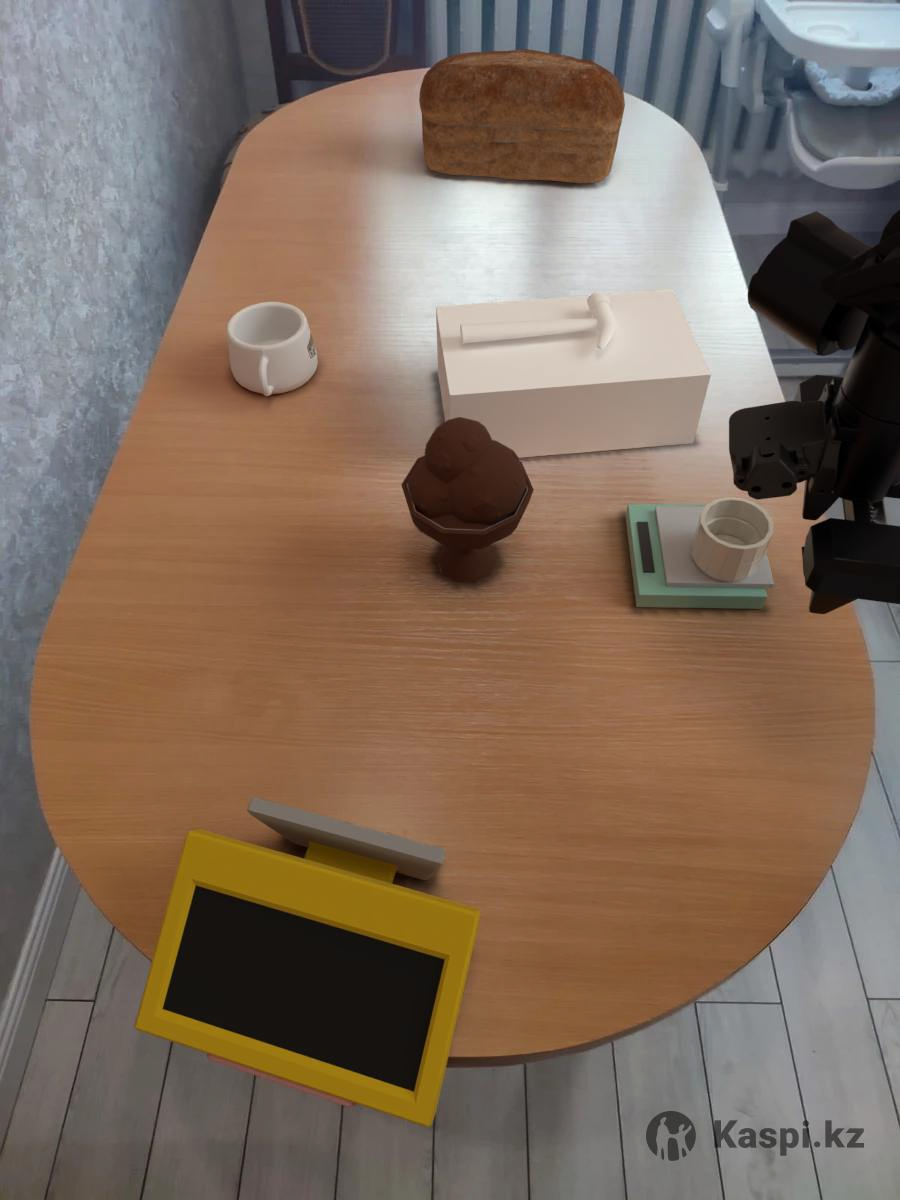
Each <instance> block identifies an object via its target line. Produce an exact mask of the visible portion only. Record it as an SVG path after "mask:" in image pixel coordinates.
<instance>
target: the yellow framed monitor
mask: <svg viewBox="0 0 900 1200" xmlns="http://www.w3.org/2000/svg"><path fill="white" fill-rule="evenodd" d="M246 811H247V812H248V813H249V815H250V816H252V817H253V818H255V819H256V820H258V821H259V822H261V823H262V824H264V825H265V826H267V827H268V828H270V829H271V830H273V831H275V832H276V833H277V834H279V835H280V836H282V837H283V838H285V839H286V840H287V841H289V842H291V843H292V844H295V845H298V846H301V847H304V848H307V850H306V851H305V852H306V853H305V854H304V858H303V857H299V856H296V855H292V854H289V853H285V852H282V851H278V850H275V849H271V848H268V847H264V846H260V845H258V844H254V843H250V842H247V841H243V840H240V839H237V838H232V837H229V836H226V835H222V834H218V833H215V832H211V831H208V830H205V829H202V828H196V829H192V830H189V831H188V832H186V834H185V839H184V841H183V842H184V843H183V846H182V849H181V852H180V857H179V860H178V865H177V868H176V871H175V874H174V875H175V876H174V879H173V882H172V887H171V890H170V894H169V896H168V897H169V898H168V901H167V905H166V909H165V912H164V915H163V919H162V923H161V927H160V930H159V934H158V938H157V940H156V941H157V942H156V944H155V948H154V952H153V956H152V960H151V964H150V966H149V971H148V974H147V977H146V982H145V985H144V988H143V993H142V996H141V1000H140V1003H139V1007H138V1011H137V1014H136V1018H135V1022H134V1028H135V1030H136V1031H139V1032H142V1033H145V1034H148V1035H151V1036H154V1037H156V1038H160V1039H163V1040H166V1041H168V1042H172V1043H174V1044H178V1045H181V1046H184V1047H187V1048H190V1049H192V1050H196V1051H199V1052H202V1053H204V1054H206V1057H207V1059H208V1060H209V1061H211V1062H214V1063H217V1064H220V1065H223V1066H226V1067H229V1068H232V1069H234V1070H238V1071H241V1072H244V1073H247V1074H250V1075H253V1076H256V1077H259V1078H262V1079H264V1080H268V1081H271V1082H274V1083H277V1084H280V1085H283V1086H286V1087H289V1088H292V1089H295V1090H297V1091H301V1092H303V1093H306V1094H309V1095H312V1096H315V1097H318V1098H321V1099H325V1100H327V1101H330V1102H333V1103H336V1104H339V1105H342V1106H345V1107H349V1108H350V1107H355V1106H356V1105H360V1106H363V1107H365V1108H367V1109H368V1108H369V1109H371V1110H374V1111H377V1112H381V1113H383V1114H387V1115H389V1116H392V1117H396V1118H398V1119H401V1120H403V1121H404V1120H405V1121H407V1122H410V1123H413V1124H416V1125H420V1126H422V1127H425V1128H429V1127H431V1126H432V1125H433V1122H434V1119H435V1116H436V1114H437V1107H438V1104H439V1100H440V1096H441V1091H442V1088H443V1087H442V1086H443V1083H444V1079H445V1074H446V1070H447V1066H448V1060H449V1057H450V1052H451V1049H452V1044H453V1038H454V1034H455V1030H456V1025H457V1021H458V1017H459V1012H460V1008H461V1005H462V1004H461V1003H462V999H463V996H464V992H465V986H466V981H467V978H468V973H469V969H470V965H471V961H472V956H473V952H474V947H475V943H476V938H477V934H478V930H479V925H480V922H481V916H482V911H481V909H480V908H478V907H475V906H472V905H469V904H466V903H461V902H458V901H454V900H451V899H447V898H444V897H440V896H436V895H433V894H429V893H426V892H424V891H423V892H422V891H419V890H415V889H412V888H408V887H405V886H401V885H398V884H394V879H395V876H396V873H397V874H401V875H404V876H408V877H410V878H411V877H412V878H414V879H418V880H422V881H428V880H430V879H432V877H433V876H434V875H435V874H436V872H438V870H439V869H440V868H441V867H442V866H443V864H444V861H445V857H446V854H447V853H446V850H445V848H442V847H439V846H435V845H431V844H428V843H424V842H420V841H417V840H414V839H409V838H406V837H402V836H398V835H395V834H391V833H389V832H388V833H387V832H384V831H380V830H377V829H373V828H369V827H365V826H362V825H359V824H354V823H351V822H347V821H343V820H341V819H340V820H339V819H336V818H332V817H329V816H326V815H321V814H318V813H314V812H311V811H307V810H303V809H299V808H296V807H292V806H289V805H285V804H281V803H279V802H278V803H277V802H274V801H270V800H266V799H263V798H260V797H255V796H254V797H252V798H251V799H250V801H249V803H248V805H247V808H246Z"/></svg>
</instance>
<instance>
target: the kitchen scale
mask: <svg viewBox="0 0 900 1200" xmlns="http://www.w3.org/2000/svg"><path fill="white" fill-rule="evenodd" d="M706 505H707V504H687V503H686V504H684V503H683V504H682V503H676V504H675V503H671V504H669V503H668V504H667V503H665V504H664V503H628V504H627V505H626V511H625V515H624V516H625V517H624V518H625V526H626V533H627V542H628V551H629V558H630V567H631V574H632V583H633V591H634V592H633V593H634V599H635V607H636V608H673V609H674V608H675V609H677V608H679V609H739V610H740V609H743V610H744V609H746V610H747V609H749V610H750V609H752V610H762V609H763V607H764V605H765V603H766V600H767V598H768V594H767V589H773V588H774V586H775V582H774V577H773V574H772V570H771V565H770V561H769V558H768V554H767V553H768V552H767V551H766V552H765V555H764V557H763V560H762V562H761V565H760V566H759V568H758V570H757V571H756V572H755V573H754V574H752V575H750V576H749V577H747V578H745V579H742V580H738V581H722V580H718V579H715V578H712V577H710V576H708V575H707V574H705V573H704V572H703V571H701V570H700V569H699V567H698V566H697V564H696V563H695V561H694V559H693V557H692V554H691V548H692V542H693V538H694V535H695V531H696V528H697V524H698V521H699V517H700V514H701V512H702V510H703V509H704V507H705V506H706Z"/></svg>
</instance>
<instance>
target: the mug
mask: <svg viewBox="0 0 900 1200" xmlns="http://www.w3.org/2000/svg"><path fill="white" fill-rule="evenodd" d="M226 340H227V347H228V356H229V365H230V370H231V373H232V376H233V379H234V380H235V381H236V382H237V383H238V384H239V385H240V386H241V387H243V388H245V389H246V390H249V391H250V392H254V393H257V394H261V395H264V397H269V396H271V395H276V394H284V393H287V392H291V391H294V390H296V389H298V388H301V387H302V386H303V385H304V384H307V382H309V381H310V380H311V378H312V377H313V375H314V374H315V373H316V372H317V368H318V365H319V361H318V352H317V348H316V345H315V342H314V339H313V335H312V332H311V329H310V325H309V322H308V319H307V317H306V315H305V313H304V311H302V310H301V309H300V308H299V307H298V306H294V305H292V304H290V303H286V302H282V301H266V302H265V301H264V302H259V303H255V304H251V305H248V306H246V307H244V308H241V309H240V310H238V311H237V312H235V313H234V314H233V316H231V317H230V319H229V320H228V322H227V325H226Z"/></svg>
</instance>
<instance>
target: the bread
mask: <svg viewBox="0 0 900 1200" xmlns="http://www.w3.org/2000/svg"><path fill="white" fill-rule="evenodd" d="M418 97H419V98H418V103H419V109H420V112H421V131H422V132H421V133H422V149H423V159H424V163H425V165H426V167H428V169H430V170H431V171H433V172H436V173H440V174H445V175H452V176H475V177H476V176H477V177H489V178H490V177H492V178H499V179H500V178H501V179H507V180H516V181H517V180H529V181H530V180H536V181H553V182H564V183H571V184H591V183H592V184H593V183H599V182H603V181H604V180H605V179H606V178H607V177H608V176H609V175H610V173H611V171H612V167H613V163H614V159H615V154H616V151H617V149H618V148H617V147H618V141H619V136H620V130H621V127H622V122H623V118H624V113H625V107H626V102H625V92H624V91H623V87H622V85H621V83H620V81H619V79H618V77H617V76H615V74H614V73H612V72H611V71H609V70H608V69H607V68H605V67H603V66H602V65H600V64H598V63H596V62H595V61H592V60H591V59H585V58H584V59H582V58H576V57H573V56H570V55H566V54H560V53H553V52H545V51H540V50H536V49H528V48H525V49H512V50H489V51H473V52H462V53H457V54H452V55H450V56H447V57H445V58H442V59H440V60H439V61H437V62H436V63H435V64H433V66H431V67H430V69H428V70H427V71H426V73H425V74H424V76H423V78H422V82H421V85H420V87H419V96H418Z"/></svg>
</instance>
